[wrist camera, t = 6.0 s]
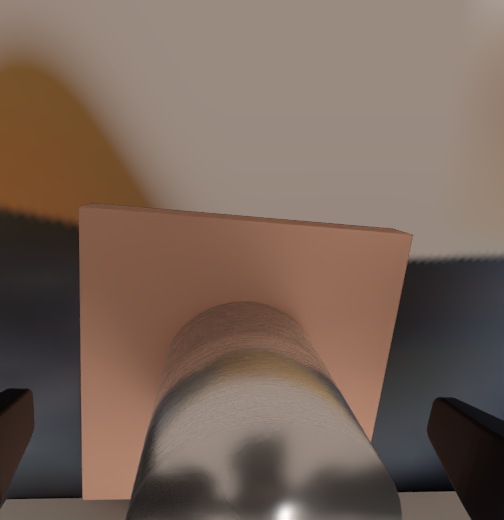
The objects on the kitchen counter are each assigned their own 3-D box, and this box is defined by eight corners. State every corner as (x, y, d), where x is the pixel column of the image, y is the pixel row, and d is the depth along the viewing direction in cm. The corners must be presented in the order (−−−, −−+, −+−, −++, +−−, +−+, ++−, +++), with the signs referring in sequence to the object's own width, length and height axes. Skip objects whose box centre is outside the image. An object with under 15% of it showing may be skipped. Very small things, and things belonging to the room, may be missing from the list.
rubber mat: (347, 468, 12) (360, 494, 11) (94, 470, 11) (82, 500, 10) (393, 228, 10) (413, 234, 9) (92, 202, 9) (78, 206, 8)
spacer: (304, 438, 10) (375, 639, 6) (160, 438, 10) (117, 657, 5) (325, 305, 9) (427, 423, 5) (166, 296, 9) (122, 420, 4)
